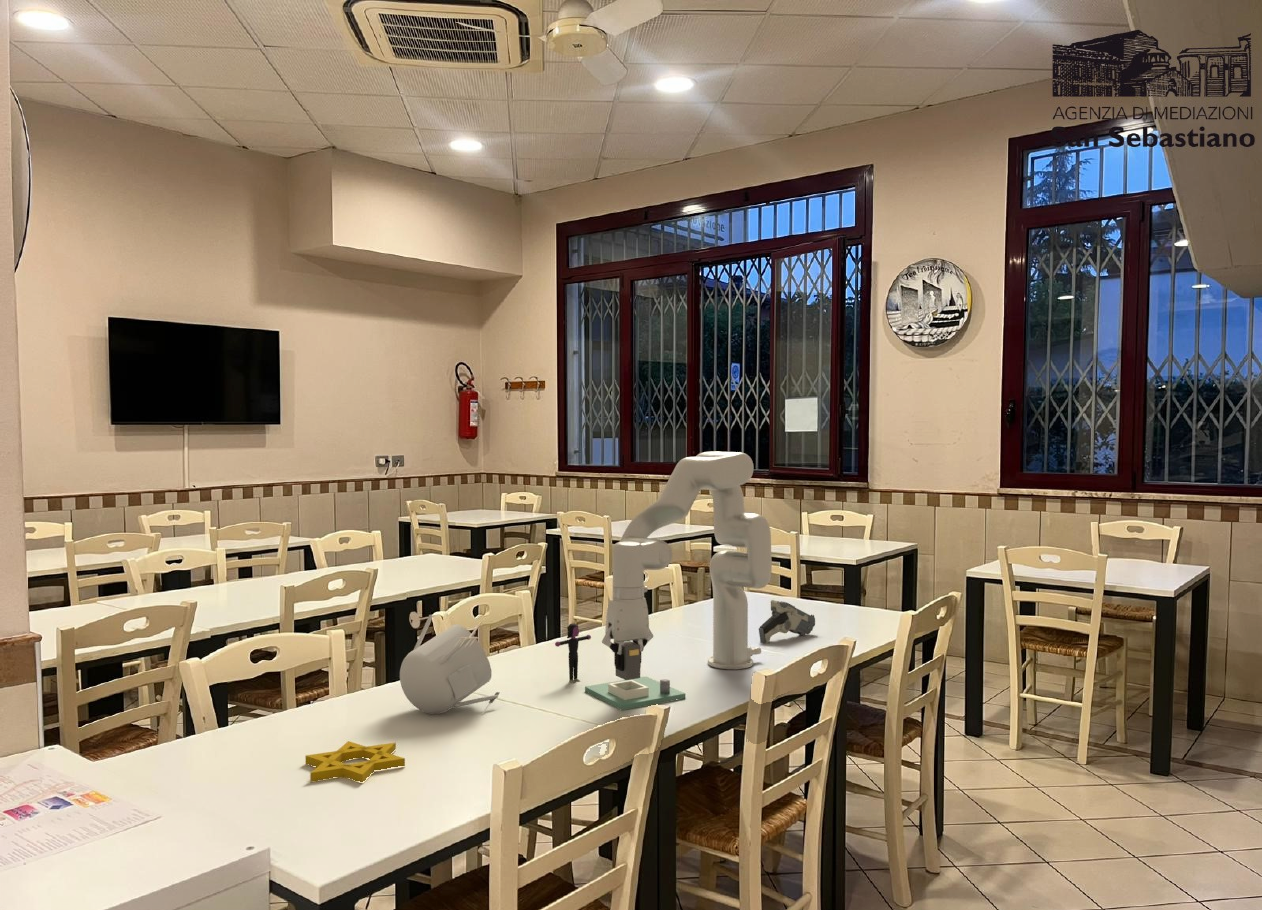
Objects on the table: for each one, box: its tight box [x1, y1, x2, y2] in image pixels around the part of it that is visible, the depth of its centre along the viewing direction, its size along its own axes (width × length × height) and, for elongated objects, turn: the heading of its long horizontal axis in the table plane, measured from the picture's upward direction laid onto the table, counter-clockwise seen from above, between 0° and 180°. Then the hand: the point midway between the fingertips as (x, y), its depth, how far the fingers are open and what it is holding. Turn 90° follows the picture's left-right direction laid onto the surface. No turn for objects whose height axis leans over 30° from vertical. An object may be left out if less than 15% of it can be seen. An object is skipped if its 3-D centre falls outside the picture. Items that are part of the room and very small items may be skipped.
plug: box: [615, 641, 641, 680], centre depth 219 cm, size 4×6×8 cm
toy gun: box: [758, 599, 816, 644], centre depth 283 cm, size 4×21×15 cm, turn 124°
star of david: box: [304, 741, 406, 782], centre depth 176 cm, size 20×17×2 cm
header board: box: [584, 676, 686, 711], centre depth 223 cm, size 18×18×4 cm
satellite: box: [399, 611, 500, 715], centre depth 210 cm, size 23×20×25 cm
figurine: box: [554, 622, 592, 684], centre depth 235 cm, size 12×4×15 cm, turn 136°
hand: (627, 667), depth 219 cm, fingers closed on plug, 4 cm apart
